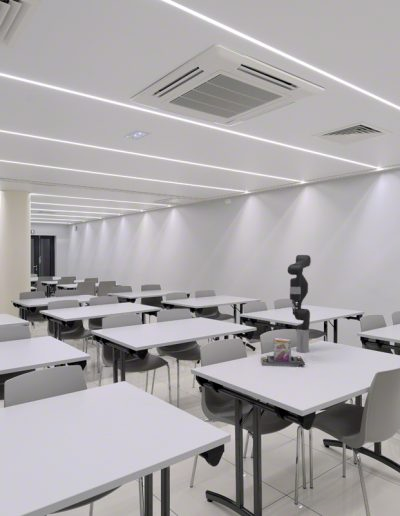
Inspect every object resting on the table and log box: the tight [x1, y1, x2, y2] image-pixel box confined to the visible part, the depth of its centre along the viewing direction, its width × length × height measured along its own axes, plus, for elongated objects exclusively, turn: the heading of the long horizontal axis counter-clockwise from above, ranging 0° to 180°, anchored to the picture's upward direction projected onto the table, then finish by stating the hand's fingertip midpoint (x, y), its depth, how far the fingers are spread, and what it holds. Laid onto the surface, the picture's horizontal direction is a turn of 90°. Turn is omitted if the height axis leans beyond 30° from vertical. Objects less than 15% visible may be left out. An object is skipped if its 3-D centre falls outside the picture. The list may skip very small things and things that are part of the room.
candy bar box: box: [273, 337, 292, 361], centre depth 270 cm, size 11×5×16 cm, turn 61°
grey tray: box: [260, 355, 305, 368], centre depth 270 cm, size 16×28×5 cm, turn 85°
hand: (295, 315), depth 279 cm, fingers open, 8 cm apart
